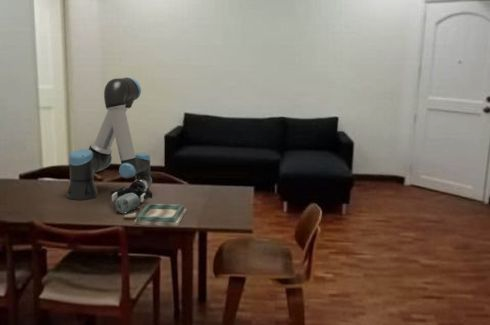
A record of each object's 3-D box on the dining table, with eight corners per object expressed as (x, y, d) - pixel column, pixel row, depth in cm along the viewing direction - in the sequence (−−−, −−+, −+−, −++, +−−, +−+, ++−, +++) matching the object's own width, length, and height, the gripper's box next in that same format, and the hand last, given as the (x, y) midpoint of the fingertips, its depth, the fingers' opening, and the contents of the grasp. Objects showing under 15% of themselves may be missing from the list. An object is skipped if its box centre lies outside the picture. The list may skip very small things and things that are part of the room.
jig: (134, 224, 238) (133, 216, 237) (146, 210, 260) (146, 203, 259) (177, 226, 237) (177, 218, 236) (186, 211, 258) (186, 204, 258)
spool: (128, 209, 248) (123, 189, 250) (112, 216, 252) (108, 196, 254) (147, 210, 260) (142, 190, 262) (132, 216, 264) (127, 196, 266)
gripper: (162, 195, 275) (153, 207, 255) (114, 194, 277) (100, 205, 256) (162, 181, 274) (153, 191, 253) (113, 179, 275) (100, 190, 254)
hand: (126, 198), depth 254 cm, fingers open, 13 cm apart
